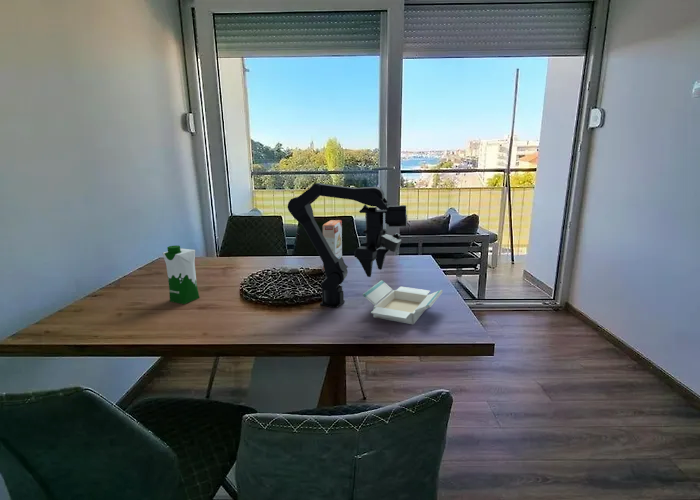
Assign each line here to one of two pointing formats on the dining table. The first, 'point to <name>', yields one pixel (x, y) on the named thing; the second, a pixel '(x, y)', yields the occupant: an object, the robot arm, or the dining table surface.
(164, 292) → the dining table surface
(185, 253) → the milk carton
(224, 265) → the dining table surface
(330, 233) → the cracker box
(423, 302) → the flap
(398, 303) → the carton
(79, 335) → the dining table surface
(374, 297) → the flap
